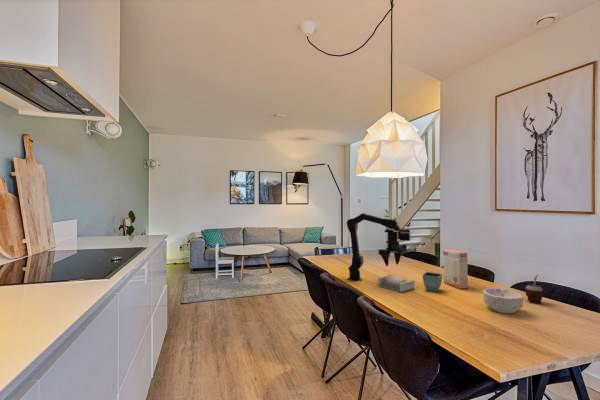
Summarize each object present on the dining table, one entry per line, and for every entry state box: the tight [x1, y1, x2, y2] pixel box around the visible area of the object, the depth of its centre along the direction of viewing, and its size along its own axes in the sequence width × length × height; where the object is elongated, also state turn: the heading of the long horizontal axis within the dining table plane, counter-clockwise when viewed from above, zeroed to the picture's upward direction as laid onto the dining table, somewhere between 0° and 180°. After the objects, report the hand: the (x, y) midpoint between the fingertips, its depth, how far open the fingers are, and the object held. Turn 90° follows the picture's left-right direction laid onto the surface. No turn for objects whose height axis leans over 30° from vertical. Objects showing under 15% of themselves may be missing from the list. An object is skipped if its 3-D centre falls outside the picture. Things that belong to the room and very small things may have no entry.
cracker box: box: [442, 248, 469, 290], centre depth 177 cm, size 14×6×21 cm, turn 10°
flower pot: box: [422, 271, 443, 292], centre depth 168 cm, size 9×9×9 cm
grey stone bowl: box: [482, 287, 524, 314], centre depth 137 cm, size 15×15×8 cm
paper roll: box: [386, 273, 408, 286], centre depth 173 cm, size 10×6×6 cm, turn 35°
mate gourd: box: [524, 274, 544, 305], centre depth 147 cm, size 8×8×15 cm
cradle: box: [377, 275, 416, 294], centre depth 173 cm, size 16×12×5 cm
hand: (392, 265), depth 181 cm, fingers open, 9 cm apart
